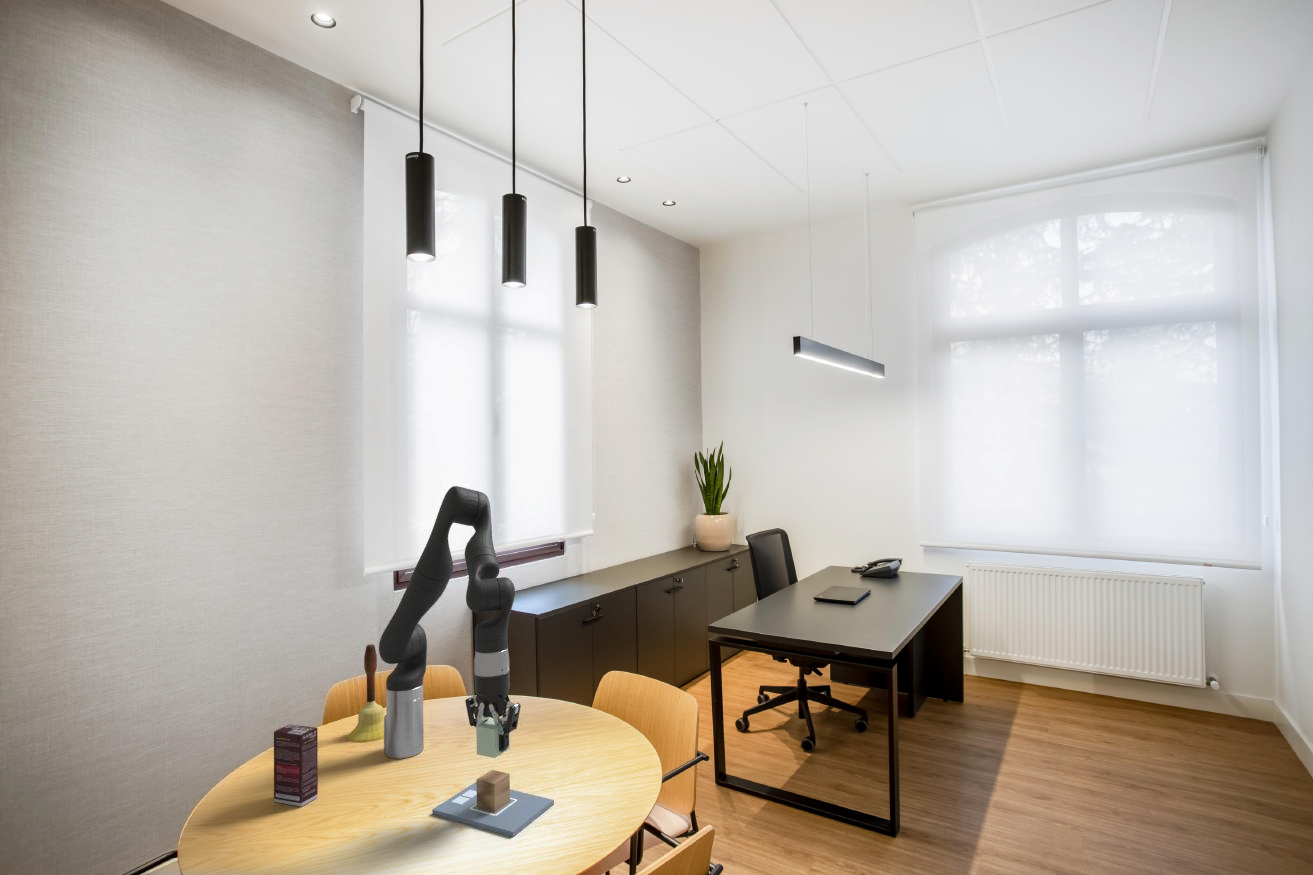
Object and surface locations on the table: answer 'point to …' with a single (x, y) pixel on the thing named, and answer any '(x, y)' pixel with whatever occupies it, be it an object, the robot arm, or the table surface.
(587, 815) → the table surface
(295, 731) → the supplement box
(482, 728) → the sage block
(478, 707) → the robot arm
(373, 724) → the handbell
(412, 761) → the table surface
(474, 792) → the board
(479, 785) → the walnut block
